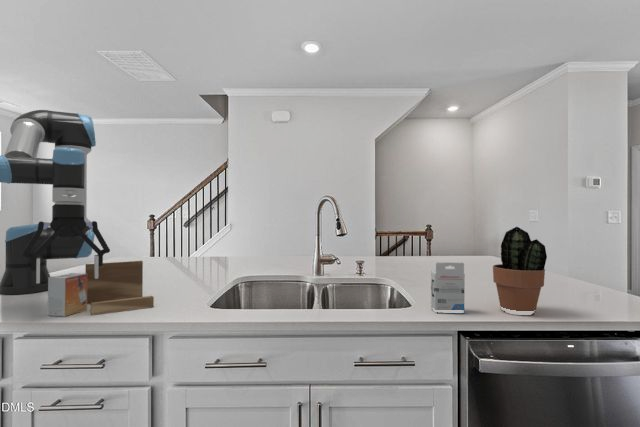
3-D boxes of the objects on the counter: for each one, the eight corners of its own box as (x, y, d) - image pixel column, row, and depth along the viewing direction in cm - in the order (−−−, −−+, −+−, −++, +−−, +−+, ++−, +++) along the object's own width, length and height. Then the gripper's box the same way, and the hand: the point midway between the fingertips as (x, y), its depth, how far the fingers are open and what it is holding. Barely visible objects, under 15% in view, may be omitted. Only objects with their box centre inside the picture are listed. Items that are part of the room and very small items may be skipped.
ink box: (458, 309, 117) (459, 260, 116) (464, 314, 112) (465, 262, 111) (430, 309, 117) (430, 260, 116) (434, 313, 112) (435, 262, 112)
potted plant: (494, 315, 110) (495, 227, 110) (490, 304, 123) (491, 225, 123) (549, 320, 106) (550, 228, 105) (539, 308, 118) (540, 226, 118)
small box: (64, 317, 104) (64, 278, 104) (47, 315, 105) (47, 277, 105) (88, 309, 112) (88, 273, 112) (71, 308, 113) (71, 272, 113)
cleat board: (85, 303, 120) (85, 264, 120) (141, 296, 129) (141, 260, 129) (91, 315, 106) (91, 271, 106) (153, 307, 116) (153, 266, 116)
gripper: (10, 202, 98) (10, 287, 98) (120, 204, 113) (120, 277, 113) (12, 203, 104) (11, 282, 104) (116, 205, 119) (116, 274, 119)
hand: (68, 280), depth 108 cm, fingers open, 13 cm apart
